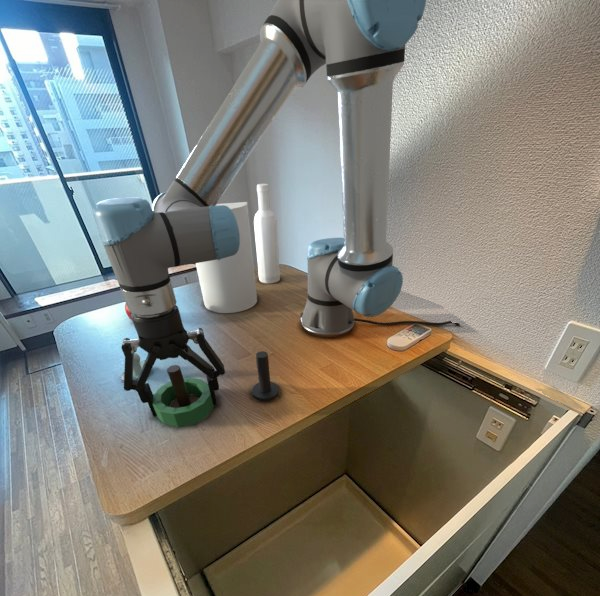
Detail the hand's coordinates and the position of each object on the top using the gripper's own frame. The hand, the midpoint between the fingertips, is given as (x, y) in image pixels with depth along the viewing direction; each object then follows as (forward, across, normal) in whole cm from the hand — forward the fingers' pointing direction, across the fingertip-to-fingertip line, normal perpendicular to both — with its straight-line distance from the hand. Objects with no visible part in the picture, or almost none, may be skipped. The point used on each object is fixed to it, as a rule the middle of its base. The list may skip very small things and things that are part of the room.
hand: (185, 406), depth 68 cm
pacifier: (0, -11, +15) cm, 19 cm away
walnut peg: (0, 0, 0) cm, 0 cm away
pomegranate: (0, -11, +45) cm, 46 cm away
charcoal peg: (0, +17, 0) cm, 17 cm away
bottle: (0, +31, +65) cm, 72 cm away
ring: (0, 0, 0) cm, 0 cm away
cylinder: (0, +15, +50) cm, 52 cm away
